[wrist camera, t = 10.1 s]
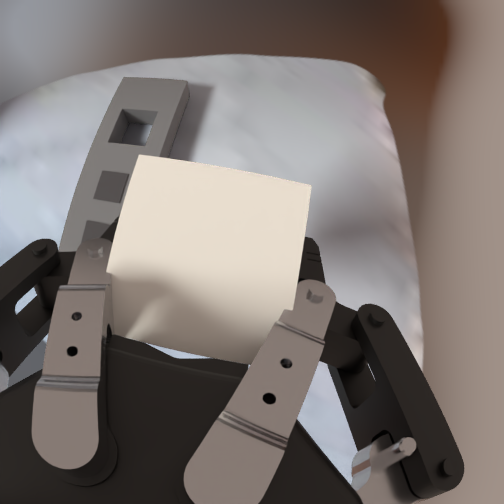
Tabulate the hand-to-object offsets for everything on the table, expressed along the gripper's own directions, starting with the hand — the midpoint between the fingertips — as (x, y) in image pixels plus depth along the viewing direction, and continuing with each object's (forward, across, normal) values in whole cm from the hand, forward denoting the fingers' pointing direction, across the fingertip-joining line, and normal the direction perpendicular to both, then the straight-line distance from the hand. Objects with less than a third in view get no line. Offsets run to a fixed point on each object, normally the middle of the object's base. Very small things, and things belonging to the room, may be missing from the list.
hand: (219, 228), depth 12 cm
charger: (+2, 0, +4) cm, 5 cm away
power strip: (+13, +11, +6) cm, 18 cm away
